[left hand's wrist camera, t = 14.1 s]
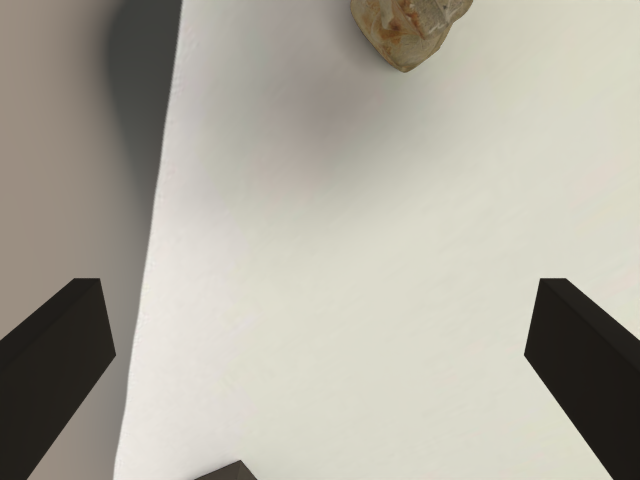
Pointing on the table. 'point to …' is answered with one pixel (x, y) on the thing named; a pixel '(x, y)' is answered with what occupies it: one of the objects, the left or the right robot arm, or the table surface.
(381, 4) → the sculpture
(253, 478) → the box
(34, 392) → the left robot arm
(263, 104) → the table surface
